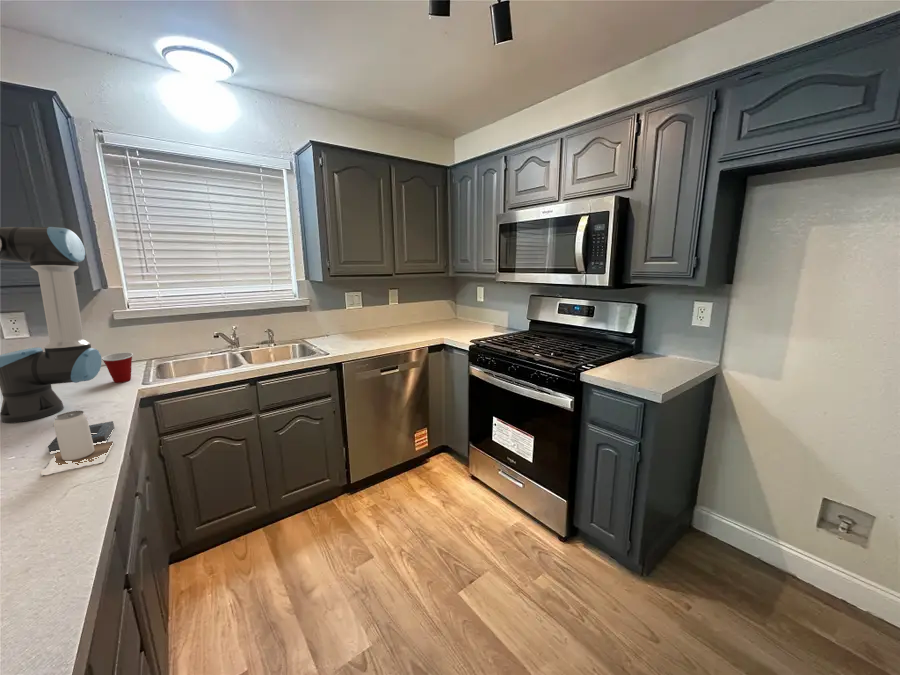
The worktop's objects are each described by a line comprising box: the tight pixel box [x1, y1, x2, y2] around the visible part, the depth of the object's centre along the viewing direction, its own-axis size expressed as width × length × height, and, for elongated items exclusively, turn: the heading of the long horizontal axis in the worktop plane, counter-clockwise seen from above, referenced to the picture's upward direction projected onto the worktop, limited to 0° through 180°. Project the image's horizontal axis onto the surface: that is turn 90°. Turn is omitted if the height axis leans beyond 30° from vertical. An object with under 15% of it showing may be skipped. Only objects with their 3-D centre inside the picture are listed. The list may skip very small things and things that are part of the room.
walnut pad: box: [53, 440, 114, 465], centre depth 104 cm, size 12×12×1 cm
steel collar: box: [47, 420, 115, 452], centre depth 114 cm, size 12×12×2 cm
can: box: [53, 410, 94, 461], centre depth 103 cm, size 6×6×12 cm
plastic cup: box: [101, 352, 134, 384], centre depth 168 cm, size 11×11×12 cm
